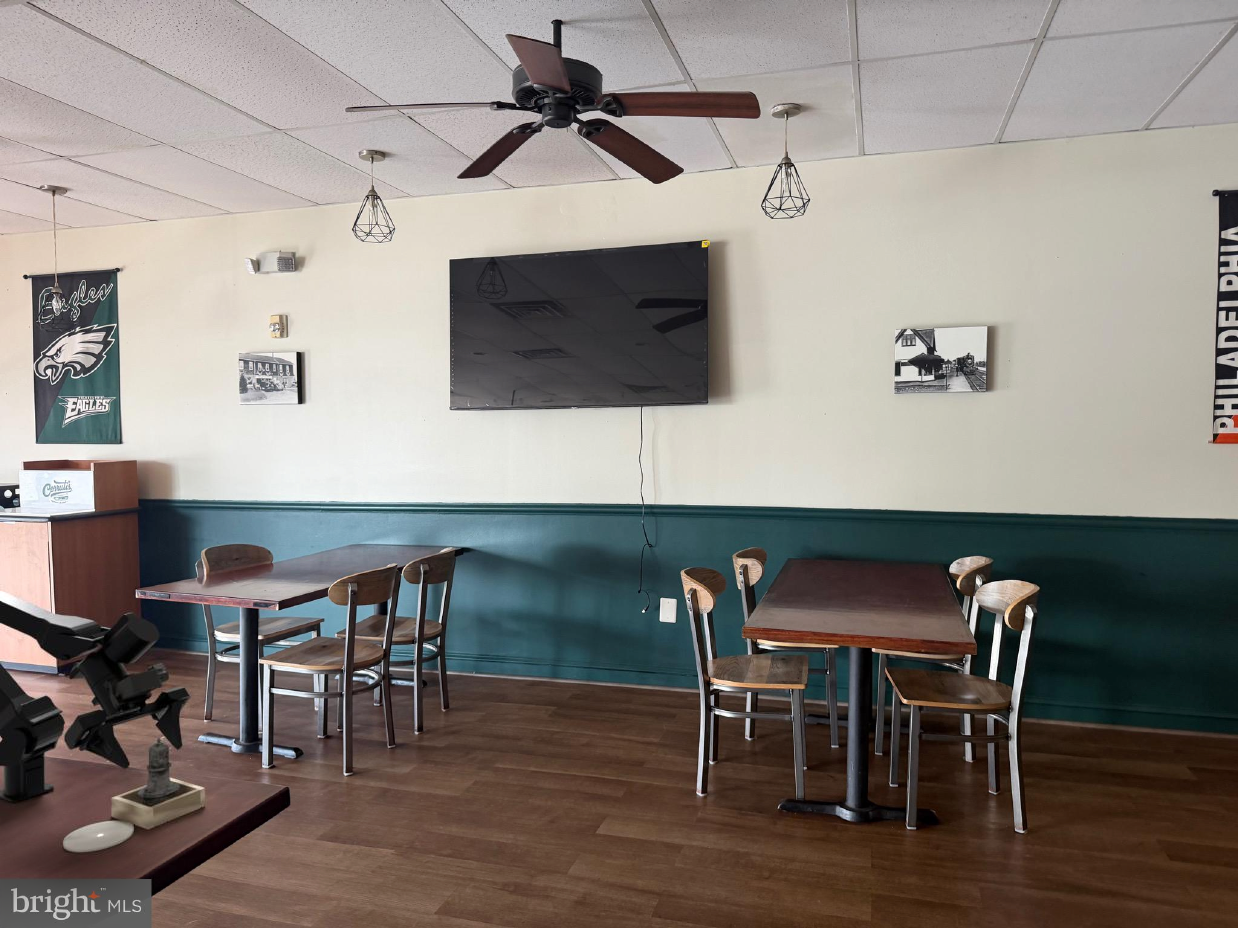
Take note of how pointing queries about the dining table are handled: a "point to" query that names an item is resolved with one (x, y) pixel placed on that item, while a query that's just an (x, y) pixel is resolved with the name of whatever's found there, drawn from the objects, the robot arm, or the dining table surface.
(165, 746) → the grey tall domed piece
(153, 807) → the birch holder
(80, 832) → the coaster
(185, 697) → the robot arm
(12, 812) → the dining table surface
